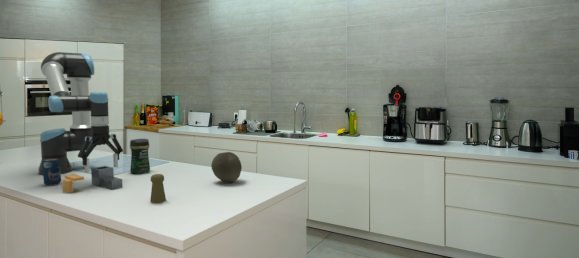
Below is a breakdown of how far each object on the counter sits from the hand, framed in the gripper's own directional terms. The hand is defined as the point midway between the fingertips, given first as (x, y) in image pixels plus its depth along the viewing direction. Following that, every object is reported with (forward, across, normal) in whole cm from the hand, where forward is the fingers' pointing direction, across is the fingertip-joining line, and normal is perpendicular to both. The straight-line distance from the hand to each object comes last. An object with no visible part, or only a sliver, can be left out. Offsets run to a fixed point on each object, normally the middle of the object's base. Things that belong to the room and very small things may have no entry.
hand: (102, 169), depth 172 cm
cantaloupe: (+6, +38, -45) cm, 59 cm away
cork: (+6, 0, -44) cm, 45 cm away
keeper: (+7, -14, -1) cm, 15 cm away
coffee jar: (+8, +25, +8) cm, 27 cm away
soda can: (+8, -14, +19) cm, 25 cm away
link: (+7, 0, -5) cm, 9 cm away
